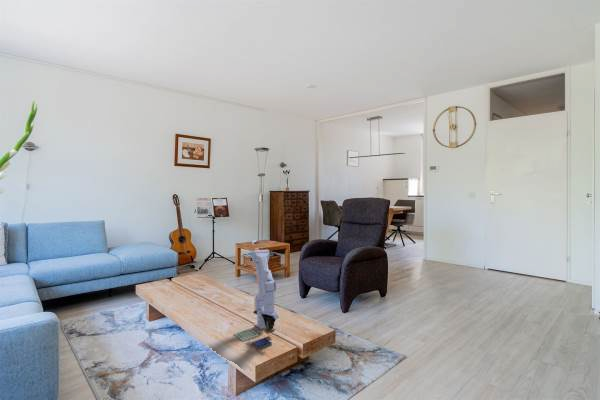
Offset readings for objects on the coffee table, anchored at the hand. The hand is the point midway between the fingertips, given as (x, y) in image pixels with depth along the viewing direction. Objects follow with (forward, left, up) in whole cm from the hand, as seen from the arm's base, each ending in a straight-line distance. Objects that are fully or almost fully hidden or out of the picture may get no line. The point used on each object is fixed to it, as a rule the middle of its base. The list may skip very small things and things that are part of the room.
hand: (269, 327), depth 176 cm
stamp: (0, 0, -2) cm, 2 cm away
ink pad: (+8, +5, -5) cm, 11 cm away
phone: (-15, -28, -6) cm, 32 cm away
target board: (+9, -9, -5) cm, 14 cm away
